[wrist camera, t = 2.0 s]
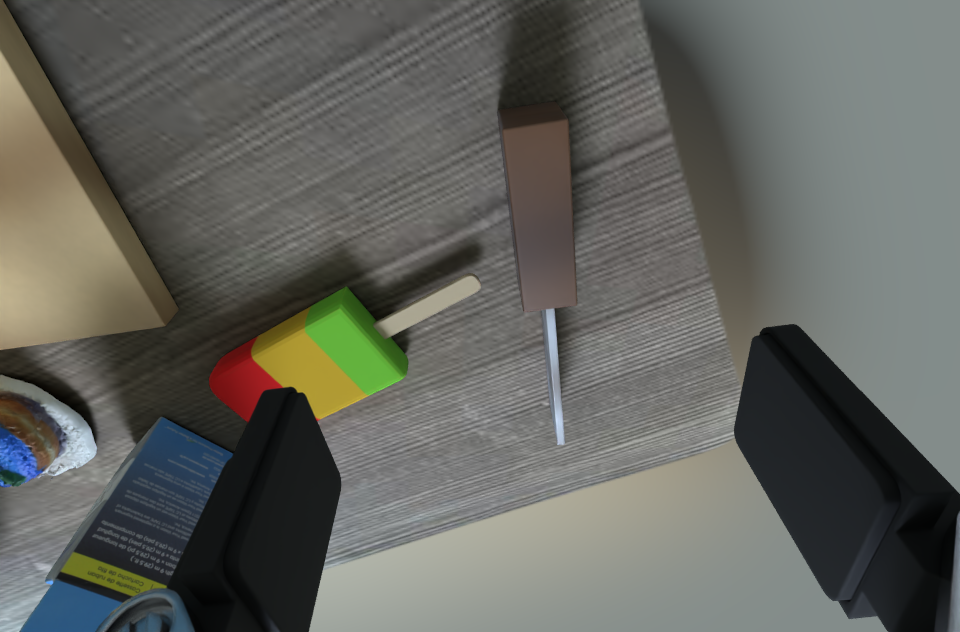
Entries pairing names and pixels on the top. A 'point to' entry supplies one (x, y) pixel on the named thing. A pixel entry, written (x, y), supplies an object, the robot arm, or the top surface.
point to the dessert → (38, 434)
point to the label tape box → (132, 530)
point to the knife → (541, 222)
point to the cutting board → (61, 222)
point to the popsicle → (328, 352)
